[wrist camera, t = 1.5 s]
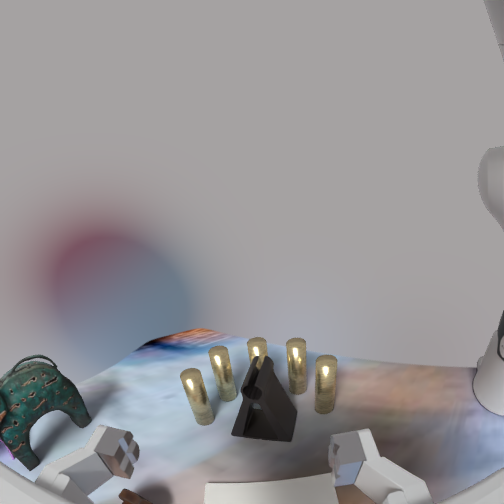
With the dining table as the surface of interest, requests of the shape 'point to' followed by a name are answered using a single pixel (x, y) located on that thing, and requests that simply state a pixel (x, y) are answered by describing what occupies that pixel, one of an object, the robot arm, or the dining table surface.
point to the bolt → (132, 498)
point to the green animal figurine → (35, 404)
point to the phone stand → (264, 406)
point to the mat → (274, 492)
